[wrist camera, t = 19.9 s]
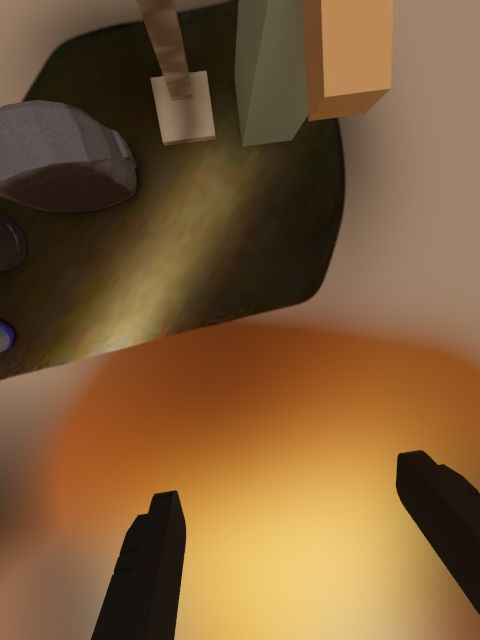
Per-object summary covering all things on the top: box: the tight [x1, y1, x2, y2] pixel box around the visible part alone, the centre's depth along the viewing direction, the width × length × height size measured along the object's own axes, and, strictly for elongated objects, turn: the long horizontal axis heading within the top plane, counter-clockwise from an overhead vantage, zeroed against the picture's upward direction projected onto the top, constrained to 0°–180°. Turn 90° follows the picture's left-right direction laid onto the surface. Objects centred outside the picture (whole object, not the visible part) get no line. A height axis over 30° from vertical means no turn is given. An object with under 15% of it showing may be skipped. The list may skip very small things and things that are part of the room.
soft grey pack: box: [0, 100, 137, 212], centre depth 31 cm, size 15×8×20 cm, turn 107°
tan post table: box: [137, 0, 216, 146], centre depth 24 cm, size 8×8×32 cm
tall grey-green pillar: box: [234, 0, 308, 147], centre depth 27 cm, size 8×9×26 cm
